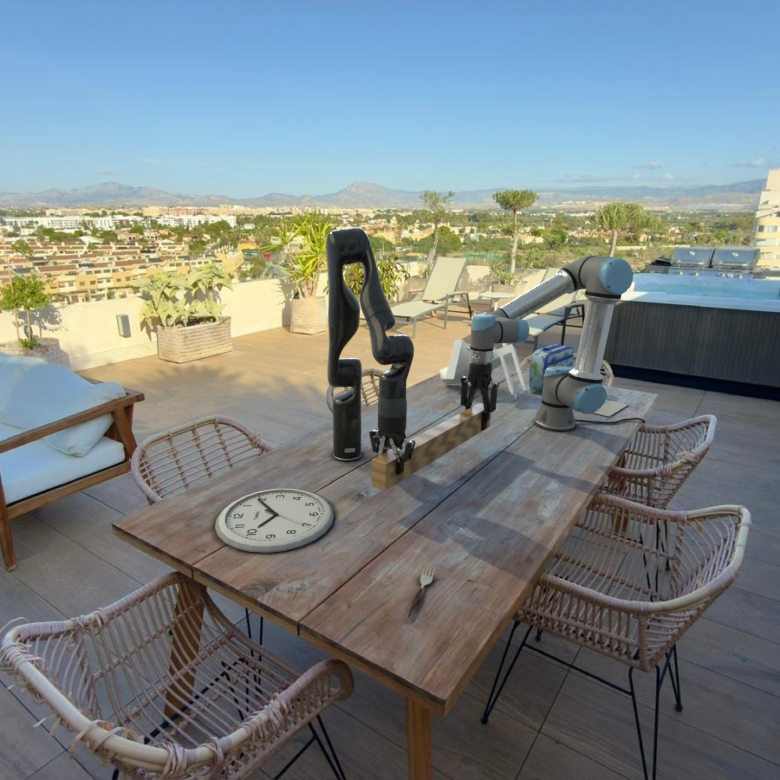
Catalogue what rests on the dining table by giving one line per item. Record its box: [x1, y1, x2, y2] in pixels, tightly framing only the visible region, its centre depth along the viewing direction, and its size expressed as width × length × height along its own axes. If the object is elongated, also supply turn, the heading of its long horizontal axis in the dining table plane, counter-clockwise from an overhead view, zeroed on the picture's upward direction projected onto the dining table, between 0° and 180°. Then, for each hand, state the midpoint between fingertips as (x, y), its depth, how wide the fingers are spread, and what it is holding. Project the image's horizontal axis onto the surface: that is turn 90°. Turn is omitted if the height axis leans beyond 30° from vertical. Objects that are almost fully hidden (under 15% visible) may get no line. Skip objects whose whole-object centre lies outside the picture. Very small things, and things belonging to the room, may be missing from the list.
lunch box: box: [528, 344, 574, 393], centre depth 247 cm, size 26×11×21 cm, turn 134°
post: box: [370, 402, 492, 491], centre depth 159 cm, size 60×5×8 cm, turn 143°
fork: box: [407, 563, 436, 618], centre depth 108 cm, size 3×16×2 cm, turn 160°
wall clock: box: [214, 488, 335, 554], centre depth 135 cm, size 30×2×30 cm
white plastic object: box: [438, 338, 531, 400], centre depth 245 cm, size 37×45×31 cm
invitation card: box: [593, 399, 629, 418], centre depth 226 cm, size 21×1×15 cm
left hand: (391, 470), depth 141 cm, fingers closed on post, 4 cm apart
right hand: (476, 427), depth 179 cm, fingers closed on post, 5 cm apart
